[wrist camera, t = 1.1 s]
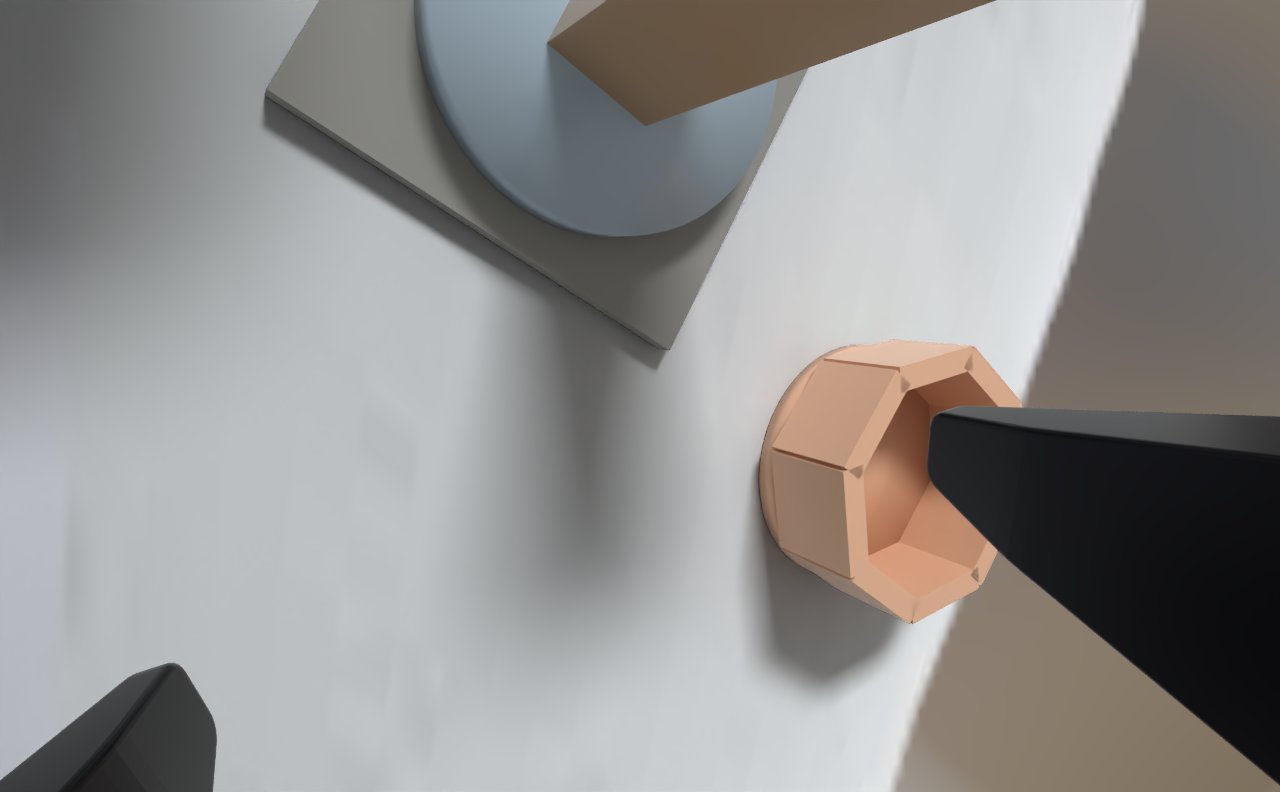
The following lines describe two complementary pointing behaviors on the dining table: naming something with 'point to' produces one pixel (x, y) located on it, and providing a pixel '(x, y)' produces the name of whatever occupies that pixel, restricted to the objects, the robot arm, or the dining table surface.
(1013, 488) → the robot arm
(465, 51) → the tan post on disc
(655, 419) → the dining table surface
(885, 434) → the bowl
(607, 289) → the mat
